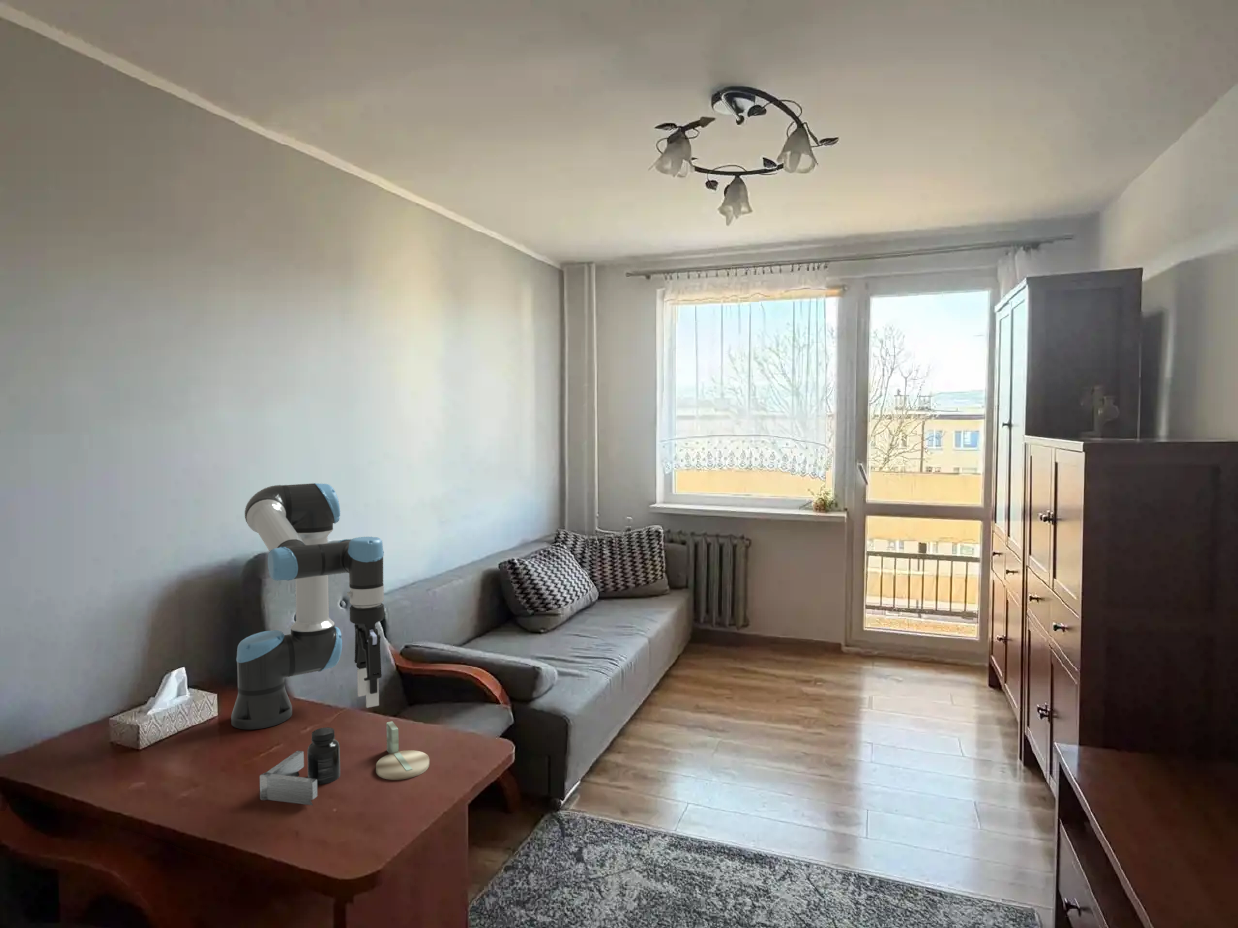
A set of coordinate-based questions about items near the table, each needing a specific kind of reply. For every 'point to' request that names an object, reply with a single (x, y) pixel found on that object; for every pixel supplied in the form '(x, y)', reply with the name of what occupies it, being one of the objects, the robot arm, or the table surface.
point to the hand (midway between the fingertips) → (368, 700)
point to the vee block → (288, 782)
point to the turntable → (400, 759)
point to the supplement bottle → (324, 756)
